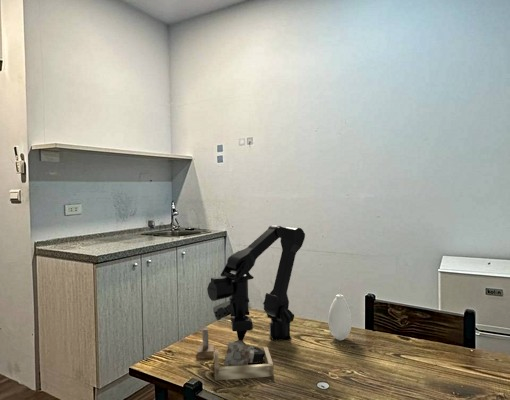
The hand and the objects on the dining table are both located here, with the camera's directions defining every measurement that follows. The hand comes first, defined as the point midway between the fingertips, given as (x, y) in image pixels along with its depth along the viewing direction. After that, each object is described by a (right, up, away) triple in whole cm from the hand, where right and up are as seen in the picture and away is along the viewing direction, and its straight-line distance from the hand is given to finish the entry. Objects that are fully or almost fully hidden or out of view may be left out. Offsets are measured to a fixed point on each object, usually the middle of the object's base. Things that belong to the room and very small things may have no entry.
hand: (240, 341), depth 117 cm
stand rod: (-11, -3, -2) cm, 12 cm away
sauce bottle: (+34, -2, +8) cm, 35 cm away
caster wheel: (+2, -3, -7) cm, 8 cm away
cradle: (+1, -3, -11) cm, 11 cm away
